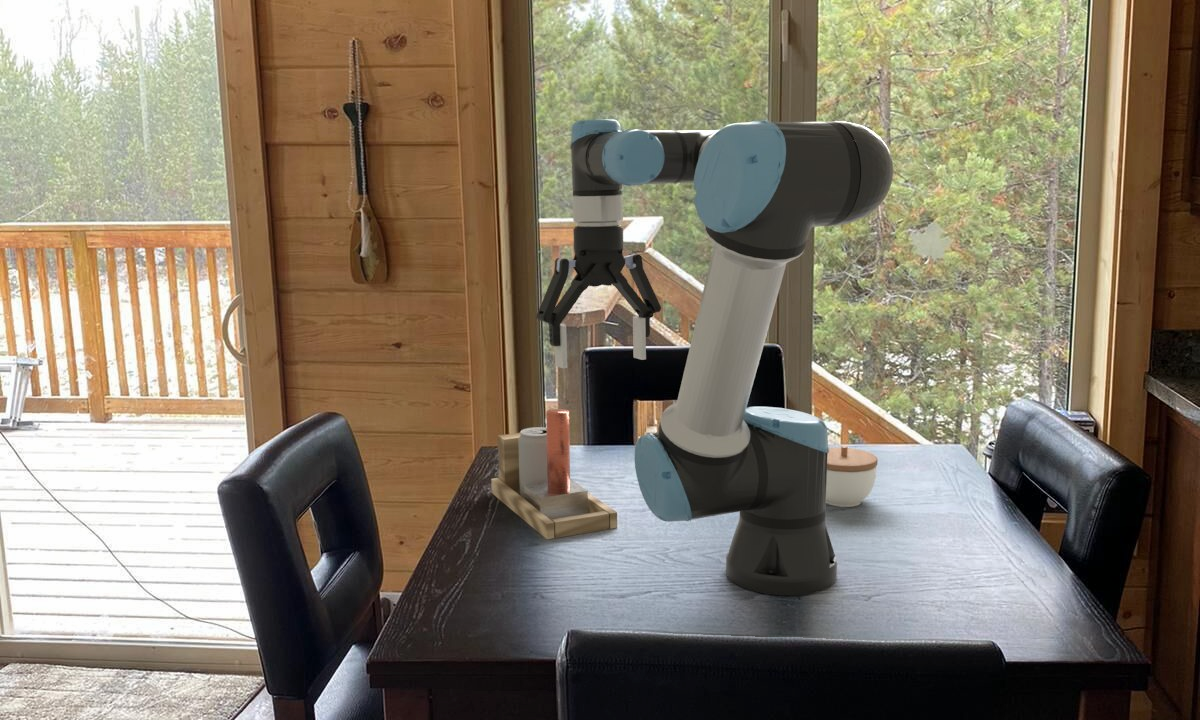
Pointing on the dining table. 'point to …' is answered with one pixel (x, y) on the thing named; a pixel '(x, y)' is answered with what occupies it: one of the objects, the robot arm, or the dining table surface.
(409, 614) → the dining table surface
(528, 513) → the press frame
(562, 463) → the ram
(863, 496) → the lidded jar
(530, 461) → the beverage can
